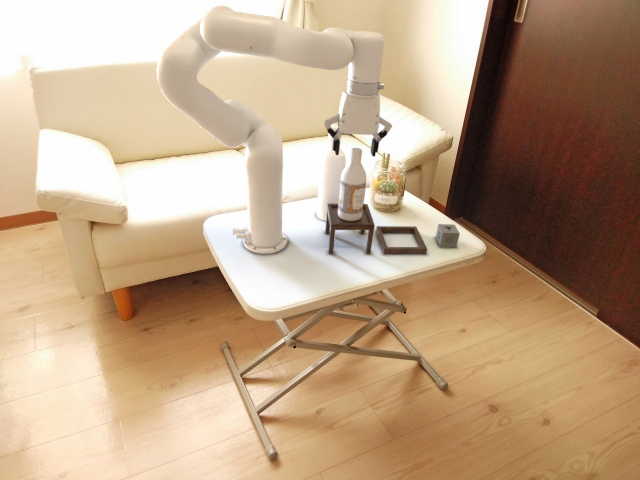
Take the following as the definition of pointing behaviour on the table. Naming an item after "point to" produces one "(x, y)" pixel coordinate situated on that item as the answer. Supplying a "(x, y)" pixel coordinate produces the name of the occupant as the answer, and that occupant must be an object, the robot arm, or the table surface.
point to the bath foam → (352, 188)
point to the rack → (371, 232)
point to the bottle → (329, 176)
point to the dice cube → (447, 235)
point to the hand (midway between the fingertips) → (354, 153)
